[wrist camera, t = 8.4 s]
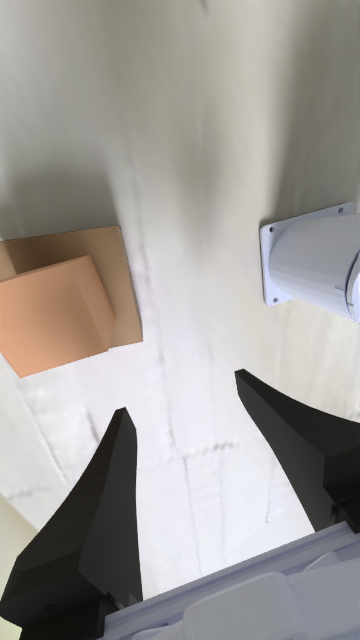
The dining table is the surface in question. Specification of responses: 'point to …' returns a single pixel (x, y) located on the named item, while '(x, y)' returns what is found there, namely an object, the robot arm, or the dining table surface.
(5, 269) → the walnut block
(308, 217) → the robot arm
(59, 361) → the terracotta cube
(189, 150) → the dining table surface
